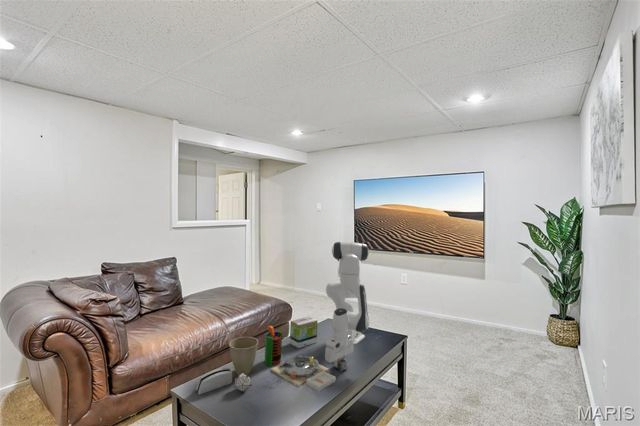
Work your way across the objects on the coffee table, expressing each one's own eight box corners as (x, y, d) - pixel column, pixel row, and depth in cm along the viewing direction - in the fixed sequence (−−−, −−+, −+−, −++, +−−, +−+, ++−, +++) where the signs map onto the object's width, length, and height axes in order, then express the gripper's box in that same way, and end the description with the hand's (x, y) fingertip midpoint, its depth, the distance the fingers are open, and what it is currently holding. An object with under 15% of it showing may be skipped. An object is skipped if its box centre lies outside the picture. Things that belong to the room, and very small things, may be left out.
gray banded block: (338, 363, 184) (338, 356, 183) (346, 369, 178) (346, 360, 178) (333, 365, 181) (333, 357, 181) (341, 371, 176) (341, 362, 176)
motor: (277, 367, 180) (277, 331, 179) (261, 365, 182) (262, 329, 181) (283, 358, 190) (283, 324, 189) (268, 357, 192) (268, 323, 191)
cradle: (323, 375, 172) (323, 370, 172) (335, 381, 166) (335, 376, 166) (306, 384, 163) (306, 379, 163) (318, 391, 157) (318, 386, 157)
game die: (246, 397, 158) (258, 383, 156) (231, 398, 152) (243, 383, 150) (241, 381, 164) (252, 367, 162) (227, 380, 158) (238, 366, 157)
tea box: (299, 348, 203) (299, 325, 203) (289, 343, 211) (289, 320, 210) (317, 342, 213) (317, 319, 213) (307, 337, 221) (308, 315, 220)
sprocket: (324, 362, 184) (324, 349, 183) (312, 381, 163) (312, 367, 163) (288, 356, 190) (289, 344, 189) (273, 374, 169) (273, 361, 169)
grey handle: (228, 378, 168) (231, 362, 165) (231, 385, 164) (234, 369, 162) (194, 389, 157) (197, 373, 154) (198, 397, 154) (200, 380, 151)
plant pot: (222, 375, 171) (223, 344, 170) (241, 363, 184) (241, 334, 184) (245, 382, 164) (246, 350, 164) (263, 369, 177) (263, 340, 177)
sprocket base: (300, 357, 192) (300, 355, 192) (328, 370, 177) (328, 368, 177) (270, 370, 176) (270, 368, 176) (299, 386, 161) (299, 384, 161)
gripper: (347, 332, 189) (347, 356, 189) (323, 343, 174) (322, 369, 175) (356, 335, 185) (356, 360, 185) (332, 347, 170) (331, 373, 170)
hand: (339, 364), depth 180 cm, fingers closed on gray banded block, 4 cm apart
